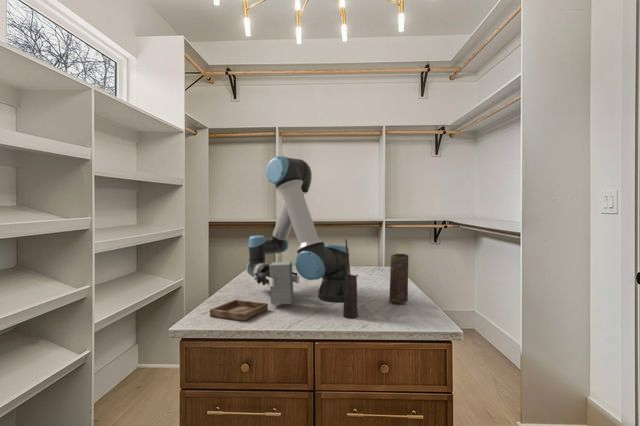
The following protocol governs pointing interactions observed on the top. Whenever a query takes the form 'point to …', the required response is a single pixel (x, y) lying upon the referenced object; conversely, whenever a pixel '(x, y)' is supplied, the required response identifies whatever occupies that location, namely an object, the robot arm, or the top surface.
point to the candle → (399, 278)
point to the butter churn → (350, 293)
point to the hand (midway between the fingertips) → (285, 281)
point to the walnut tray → (239, 310)
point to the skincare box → (281, 282)
